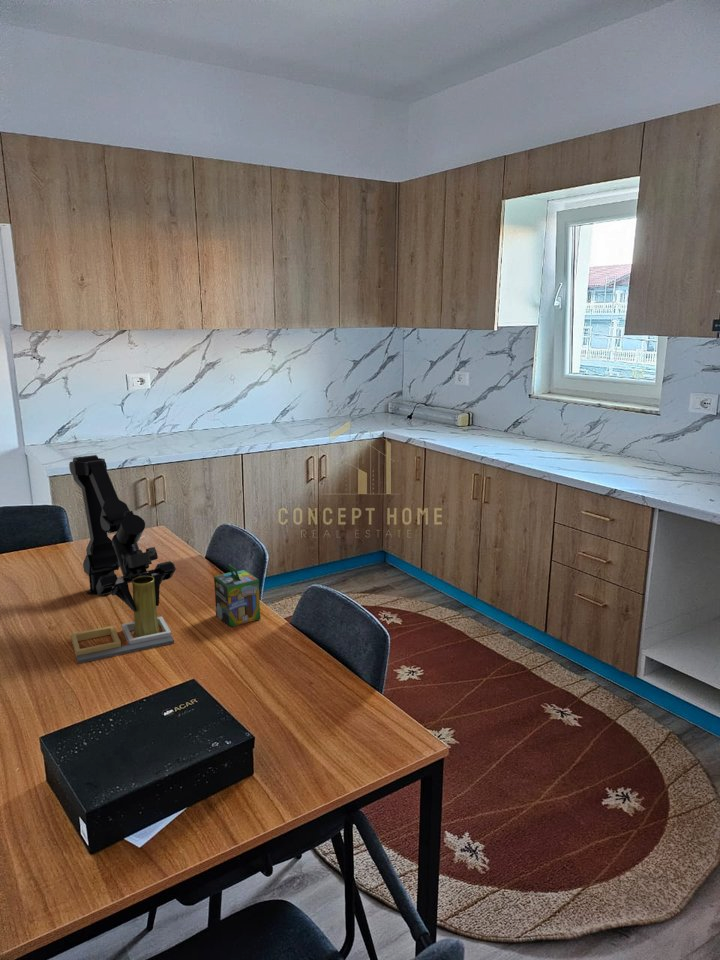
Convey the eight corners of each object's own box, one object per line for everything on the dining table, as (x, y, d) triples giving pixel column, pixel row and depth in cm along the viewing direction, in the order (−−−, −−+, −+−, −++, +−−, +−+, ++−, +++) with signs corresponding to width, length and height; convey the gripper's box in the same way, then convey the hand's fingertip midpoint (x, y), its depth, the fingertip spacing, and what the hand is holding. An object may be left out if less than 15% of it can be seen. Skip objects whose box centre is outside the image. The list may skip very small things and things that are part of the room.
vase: (164, 629, 173) (161, 576, 170) (149, 640, 168) (146, 586, 164) (143, 625, 175) (140, 573, 171) (128, 635, 169) (124, 582, 166)
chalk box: (261, 620, 180) (260, 567, 177) (228, 628, 175) (226, 574, 172) (246, 607, 188) (244, 556, 184) (214, 615, 183) (212, 563, 179)
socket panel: (77, 663, 157) (77, 656, 157) (71, 640, 168) (70, 633, 167) (174, 643, 167) (173, 636, 167) (162, 622, 178) (162, 616, 177)
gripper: (96, 545, 163) (115, 604, 157) (171, 531, 174) (191, 586, 168) (88, 566, 171) (106, 623, 165) (160, 551, 182) (179, 604, 176)
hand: (146, 608), depth 168 cm, fingers closed on vase, 5 cm apart
